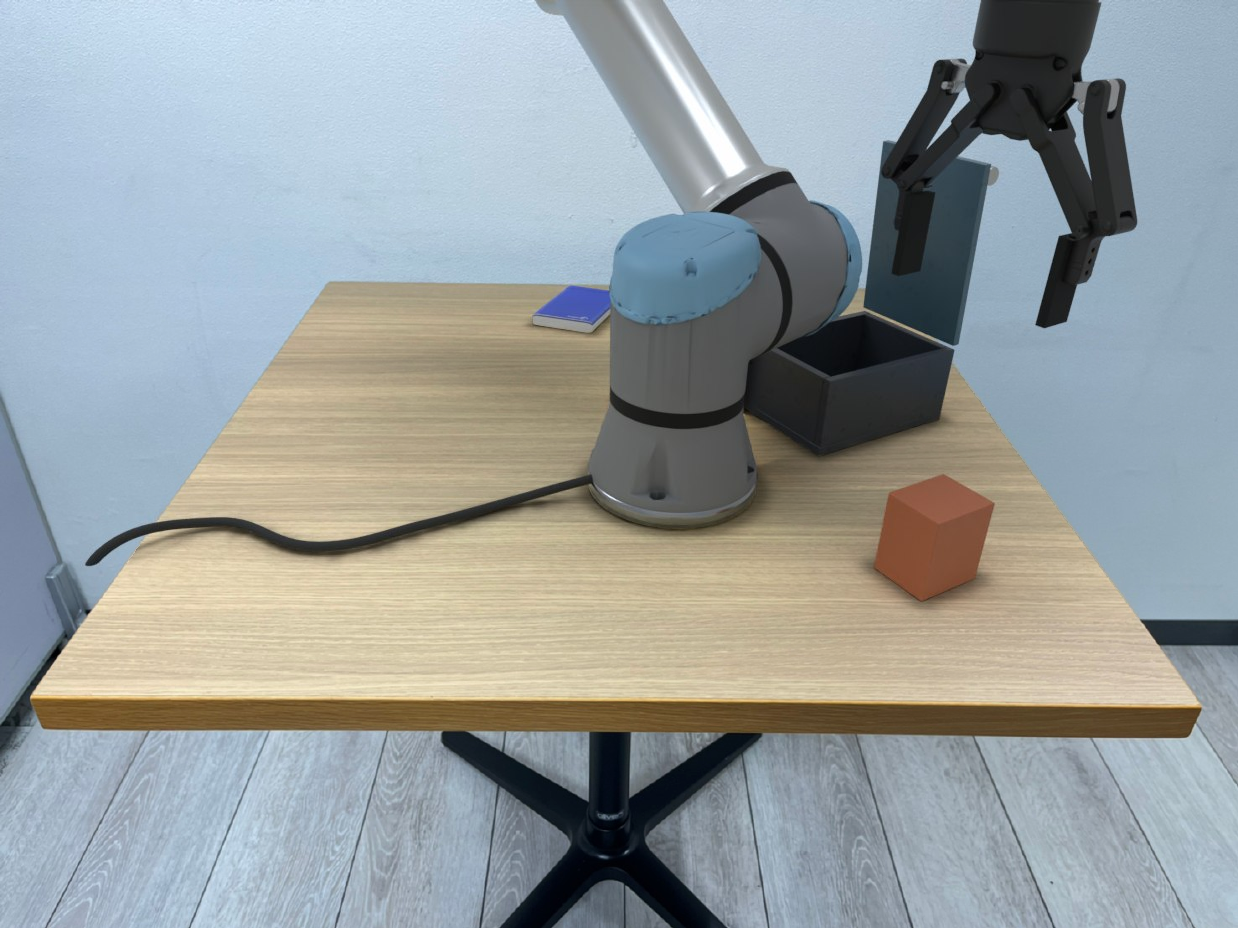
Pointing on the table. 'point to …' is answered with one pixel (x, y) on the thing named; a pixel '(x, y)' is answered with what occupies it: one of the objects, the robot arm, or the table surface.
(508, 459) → the table surface
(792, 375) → the black box
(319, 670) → the table surface
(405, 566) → the table surface
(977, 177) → the box lid
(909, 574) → the reddish-orange cube block
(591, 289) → the blue book
